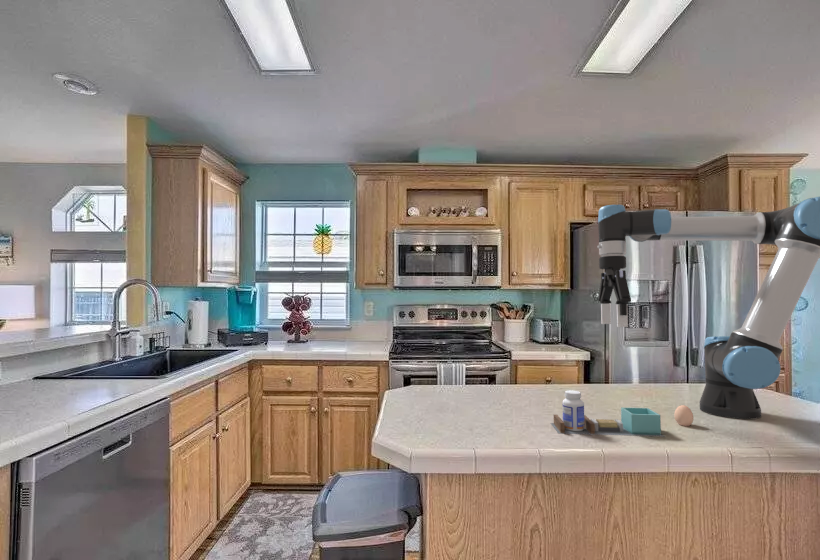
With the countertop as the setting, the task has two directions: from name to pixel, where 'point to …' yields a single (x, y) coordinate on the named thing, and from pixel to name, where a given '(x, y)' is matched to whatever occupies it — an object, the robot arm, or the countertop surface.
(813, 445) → the countertop surface
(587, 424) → the trough
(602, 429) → the cradle base
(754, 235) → the robot arm
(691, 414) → the egg
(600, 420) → the pad
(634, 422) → the teal open box
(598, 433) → the mat
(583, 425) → the pill bottle
